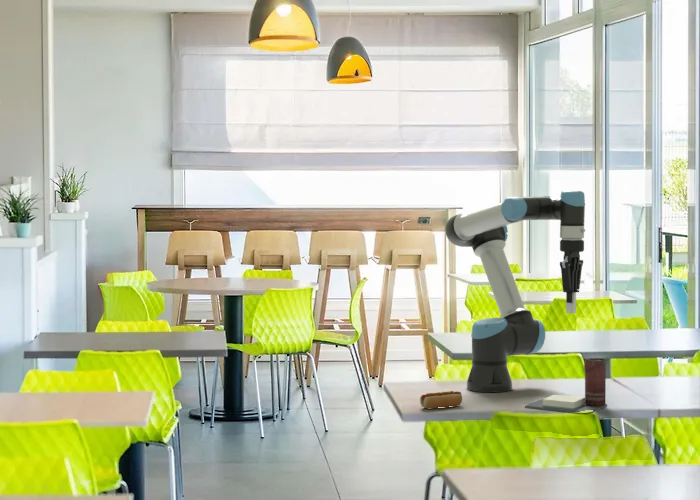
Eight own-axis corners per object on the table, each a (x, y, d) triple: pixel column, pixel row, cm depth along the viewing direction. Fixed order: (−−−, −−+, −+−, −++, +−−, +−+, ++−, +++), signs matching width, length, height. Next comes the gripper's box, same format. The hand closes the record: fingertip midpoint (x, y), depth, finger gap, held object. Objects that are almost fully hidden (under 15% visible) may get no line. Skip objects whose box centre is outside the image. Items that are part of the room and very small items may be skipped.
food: (426, 411, 322) (426, 395, 322) (417, 408, 327) (417, 392, 327) (465, 407, 328) (465, 391, 328) (456, 404, 333) (456, 388, 333)
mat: (524, 407, 326) (524, 405, 326) (546, 399, 339) (546, 397, 339) (587, 414, 314) (587, 412, 314) (606, 405, 328) (606, 403, 328)
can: (581, 403, 328) (581, 358, 328) (601, 402, 329) (601, 357, 328) (587, 407, 322) (587, 361, 322) (608, 406, 323) (608, 360, 322)
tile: (554, 401, 332) (542, 406, 324) (554, 394, 332) (542, 399, 324) (584, 404, 326) (573, 409, 319) (584, 397, 326) (573, 402, 319)
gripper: (574, 240, 333) (573, 315, 334) (591, 238, 343) (590, 311, 345) (552, 239, 337) (551, 313, 339) (569, 237, 348) (568, 309, 349)
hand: (570, 312), depth 342 cm, fingers closed
